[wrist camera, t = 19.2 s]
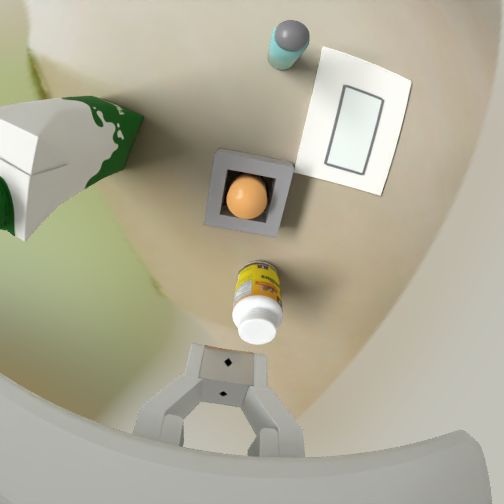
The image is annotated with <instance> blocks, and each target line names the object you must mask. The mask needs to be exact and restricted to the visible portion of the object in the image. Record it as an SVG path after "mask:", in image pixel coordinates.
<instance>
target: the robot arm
mask: <svg viewBox="0 0 504 504" xmlns="http://www.w3.org/2000/svg"><path fill="white" fill-rule="evenodd" d="M200 401H202V402H209V403H216V404H223V405H228V406H235V407H241V409H242V411H243V413H244V415H245V416H246V418H247V420H248V422H249V423H250V425H251V427H252V429H253V430H254V432H255V434H256V435H257V437H256V438H255V440H254V442H253V443H252V444H251V446H250V447H249V449H248V456H241V455H232V454H223V453H215V452H208V451H202V450H196V449H190V448H185V447H183V443H184V426H183V420H184V419H185V418H186V416H187V415H188V414H189V413H190V412H191V411H192V410H193V409H194V408H195V407H196V406H197V405H198V404H199V403H200ZM0 504H492V497H491V488H490V482H489V476H488V471H487V466H486V462H485V458H484V454H483V451H482V448H481V446H480V444H479V443H478V442H477V441H476V440H475V439H474V438H472V437H471V436H470V435H469V434H468V433H467V432H465V431H463V430H458V431H454V432H452V433H448V434H445V435H442V436H439V437H435V438H432V439H428V440H425V441H421V442H417V443H413V444H409V445H405V446H400V447H395V448H390V449H384V450H378V451H372V452H365V453H358V454H349V455H339V456H327V457H305V452H304V440H303V429H302V428H301V426H300V425H299V424H298V423H297V421H296V420H295V419H294V418H293V416H292V415H291V414H290V412H289V411H288V410H287V408H286V407H285V406H284V405H283V403H282V402H281V401H280V399H279V398H278V397H277V395H276V394H275V393H274V391H273V390H272V389H271V388H268V384H267V356H266V355H265V354H257V353H252V352H244V351H237V350H230V349H229V350H227V349H222V348H217V347H212V346H207V345H202V344H197V343H192V345H191V349H190V353H189V357H188V361H187V366H186V370H185V374H184V375H181V374H180V375H179V376H178V377H177V378H176V379H174V380H173V381H172V382H171V383H170V384H168V385H167V386H166V387H164V388H163V389H162V390H161V391H159V392H158V393H157V394H156V395H154V396H153V397H152V398H150V399H149V400H148V401H147V402H145V403H144V404H143V405H141V407H140V410H139V414H138V417H137V420H136V424H135V427H134V431H133V434H129V433H126V432H123V431H120V430H117V429H114V428H111V427H108V426H105V425H102V424H99V423H97V422H94V421H92V420H89V419H87V418H84V417H82V416H79V415H77V414H75V413H73V412H70V411H68V410H66V409H64V408H62V407H59V406H57V405H55V404H53V403H51V402H49V401H47V400H45V399H43V398H42V397H40V396H38V395H36V394H34V393H32V392H30V391H29V390H27V389H25V388H23V387H22V386H20V385H18V384H17V383H15V382H13V381H12V380H10V379H9V378H7V377H6V376H4V375H2V374H1V373H0Z"/></svg>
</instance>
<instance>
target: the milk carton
mask: <svg viewBox="0 0 504 504" xmlns="http://www.w3.org/2000/svg"><path fill="white" fill-rule="evenodd" d="M143 118H144V116H142V115H140V114H137V113H135V112H133V111H130V110H128V109H125V108H123V107H121V106H118V105H116V104H113V103H111V102H108V101H105V100H103V99H100V98H97V97H94V96H80V97H66V98H55V99H46V100H38V101H32V102H25V103H19V104H13V105H7V106H1V107H0V229H2V230H7V231H8V232H10V233H11V234H12V235H14V236H15V235H16V236H17V237H19V238H20V239H21V240H23V241H27V239H28V238H29V237H30V236H31V235H32V234H33V233H34V231H35V230H36V229H37V228H38V227H39V226H40V225H41V223H42V222H43V221H44V220H45V219H46V218H47V217H48V216H49V215H50V214H51V213H52V212H53V211H54V210H55V209H56V208H57V207H58V206H59V205H61V204H62V203H64V202H65V201H67V200H68V199H70V198H71V197H73V196H74V195H76V194H77V193H79V192H81V191H82V190H84V189H86V188H87V187H89V186H91V185H92V184H94V183H96V182H97V181H99V180H101V179H103V178H105V177H107V176H109V175H112V174H114V173H117V172H119V171H122V170H123V168H124V165H125V163H126V160H127V157H128V155H129V152H130V149H131V147H132V144H133V142H134V139H135V137H136V135H137V132H138V130H139V127H140V125H141V123H142V121H143Z"/></svg>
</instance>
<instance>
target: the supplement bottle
mask: <svg viewBox="0 0 504 504" xmlns="http://www.w3.org/2000/svg"><path fill="white" fill-rule="evenodd" d="M282 319H283V310H282V299H281V288H280V279H279V274H278V272H277V270H276V269H275V268H274V267H273V266H272V265H270V264H268V263H266V262H261V261H255V262H250V263H248V264H246V265H245V266H243V267H242V268H241V270H240V271H239V273H238V276H237V282H236V290H235V298H234V305H233V321H234V323H235V325H236V326H237V327H238V328H239V330H238V331H239V335H240V337H241V338H242V339H243V340H244V341H246V342H248V343H250V344H258V345H259V344H265V343H268V342H270V341H271V340H273V339H274V337H275V336H276V332H277V328H278V327H279V325H280V324H281V322H282Z"/></svg>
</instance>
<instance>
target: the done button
mask: <svg viewBox="0 0 504 504" xmlns="http://www.w3.org/2000/svg"><path fill="white" fill-rule="evenodd" d="M227 205H228V208H229V210H230V211H231V212H232V213H233V214H234V215H235V216H237V217H239V218H242V219H252V218H255V217H257V216H259V215H260V214H261V213H262V212H263V211H264V209H265V208H266V205H267V193H266V186H265V183H264V181H263V180H262V179H261V178H260V177H259V176H257V175H255V174H250V173H244V174H241V175H239V176H237V177H236V178H235V179H234V180H233V181H232V183H231V186H230V189H229V191H228V194H227Z"/></svg>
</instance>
